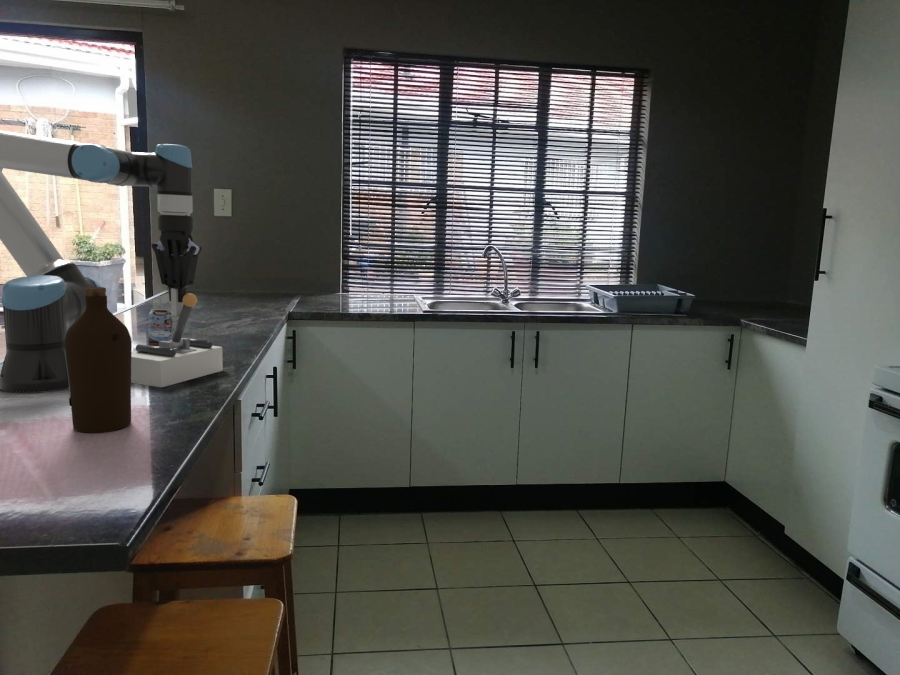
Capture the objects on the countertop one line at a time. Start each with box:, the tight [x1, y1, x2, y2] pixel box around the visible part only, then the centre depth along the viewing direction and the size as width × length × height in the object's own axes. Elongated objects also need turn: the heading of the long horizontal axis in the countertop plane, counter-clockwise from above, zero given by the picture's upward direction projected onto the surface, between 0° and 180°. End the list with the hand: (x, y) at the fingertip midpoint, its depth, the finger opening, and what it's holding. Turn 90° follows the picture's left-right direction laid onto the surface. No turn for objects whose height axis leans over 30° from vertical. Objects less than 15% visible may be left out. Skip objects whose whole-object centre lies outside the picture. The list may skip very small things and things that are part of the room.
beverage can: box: [147, 308, 173, 347], centre depth 188 cm, size 6×7×12 cm
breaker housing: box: [131, 337, 224, 388], centre depth 161 cm, size 20×13×8 cm, turn 158°
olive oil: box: [64, 286, 133, 434], centre depth 121 cm, size 11×11×25 cm
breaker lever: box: [168, 292, 198, 348], centre depth 160 cm, size 4×3×15 cm
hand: (178, 315), depth 160 cm, fingers closed
